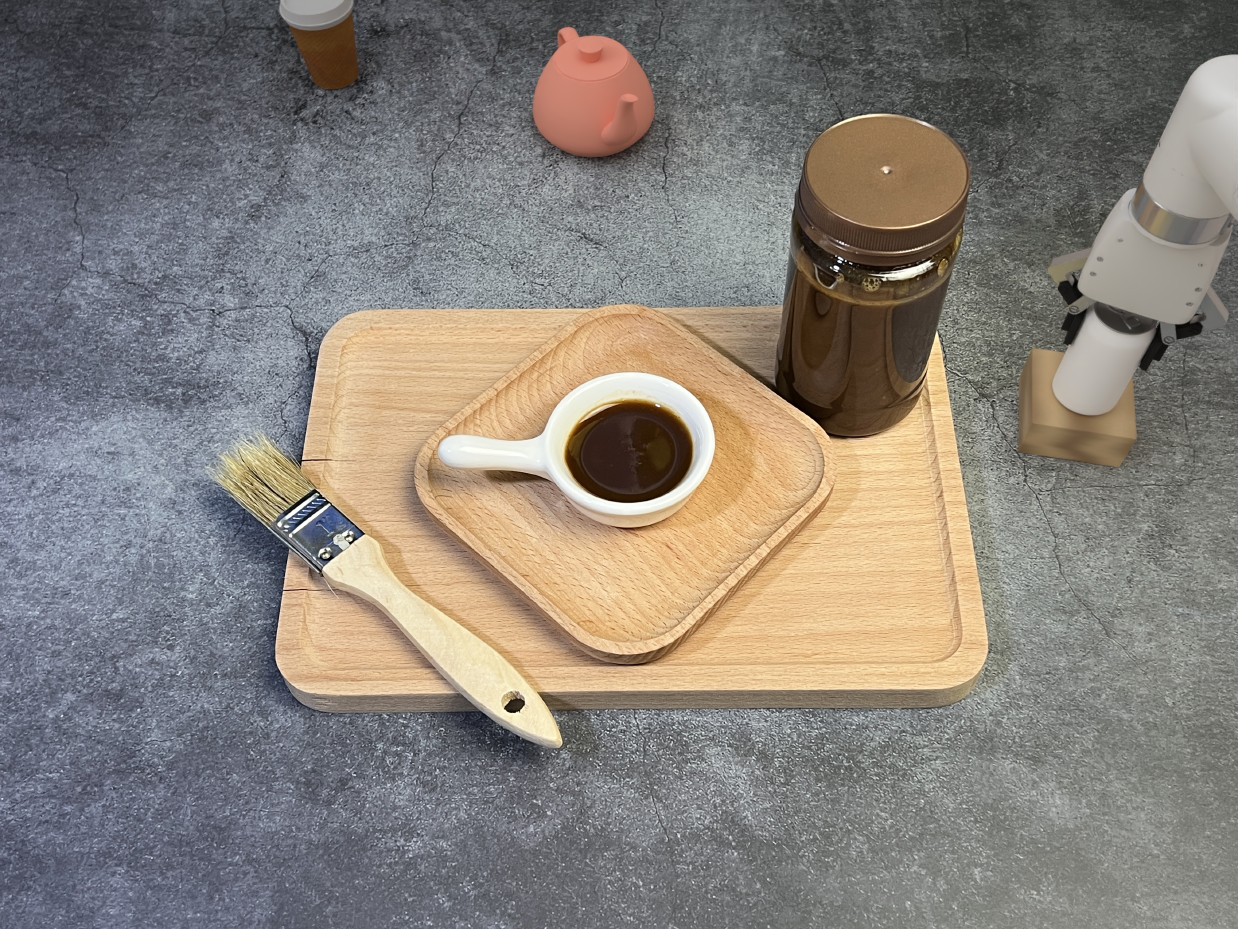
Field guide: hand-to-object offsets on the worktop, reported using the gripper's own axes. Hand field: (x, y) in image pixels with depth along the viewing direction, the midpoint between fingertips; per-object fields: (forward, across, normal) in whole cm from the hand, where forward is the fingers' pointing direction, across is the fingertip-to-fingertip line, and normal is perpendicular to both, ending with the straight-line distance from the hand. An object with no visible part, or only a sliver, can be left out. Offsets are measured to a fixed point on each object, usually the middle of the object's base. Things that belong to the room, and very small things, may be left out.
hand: (1107, 346), depth 105 cm
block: (+12, 0, 0) cm, 12 cm away
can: (+7, 0, 0) cm, 7 cm away
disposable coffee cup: (+12, +104, -15) cm, 106 cm away
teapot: (+12, +66, -20) cm, 70 cm away
